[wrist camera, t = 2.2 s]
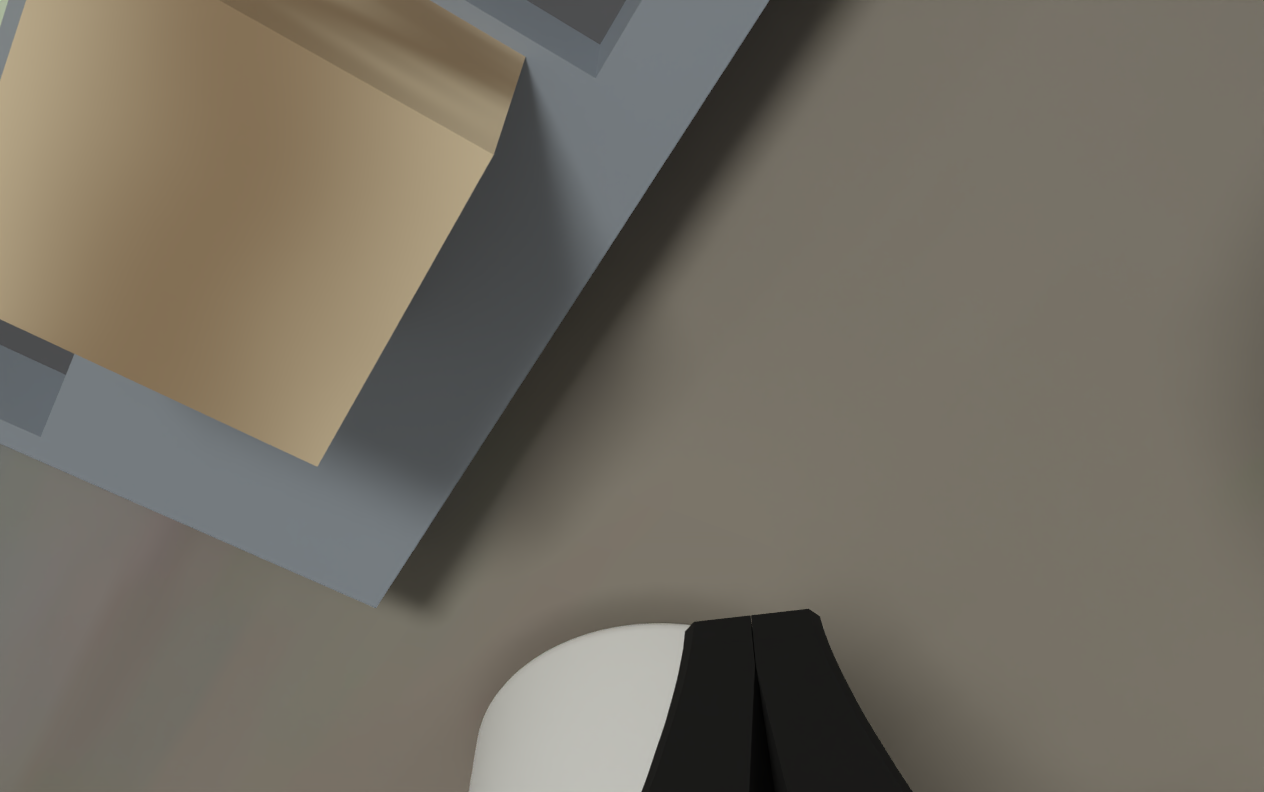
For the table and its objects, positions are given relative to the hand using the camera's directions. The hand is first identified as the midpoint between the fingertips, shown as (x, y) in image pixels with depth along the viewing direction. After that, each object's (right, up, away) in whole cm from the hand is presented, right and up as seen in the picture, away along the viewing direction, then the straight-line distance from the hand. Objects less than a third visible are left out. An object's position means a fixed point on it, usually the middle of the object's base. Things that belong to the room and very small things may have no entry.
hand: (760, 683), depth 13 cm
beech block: (-6, +7, +4) cm, 11 cm away
